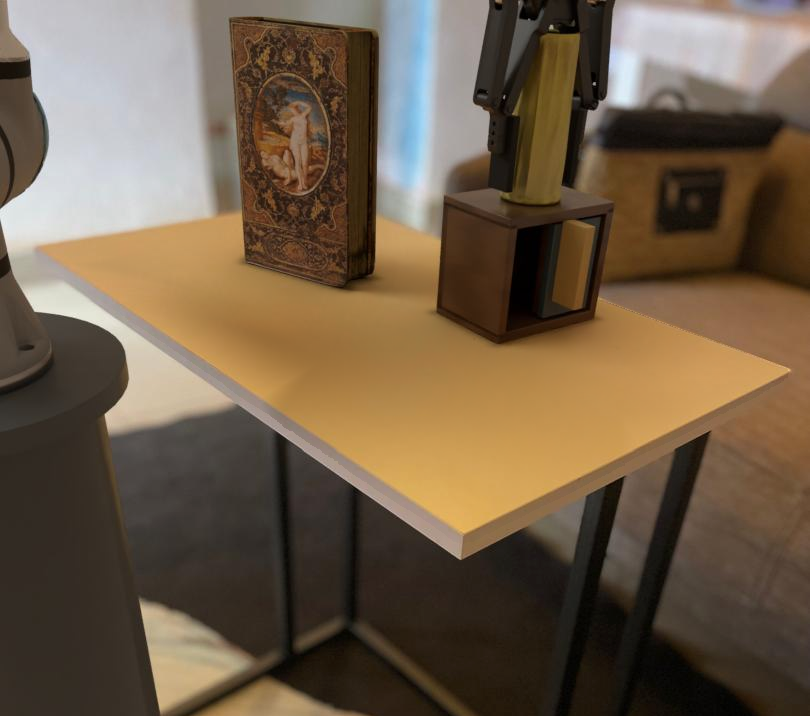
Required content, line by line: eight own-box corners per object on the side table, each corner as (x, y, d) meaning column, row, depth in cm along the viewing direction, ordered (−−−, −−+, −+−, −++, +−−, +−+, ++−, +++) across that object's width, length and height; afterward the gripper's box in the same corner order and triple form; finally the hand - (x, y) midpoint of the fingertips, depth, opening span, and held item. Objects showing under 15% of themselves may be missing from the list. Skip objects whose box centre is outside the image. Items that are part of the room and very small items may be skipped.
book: (237, 260, 101) (220, 17, 87) (268, 250, 105) (256, 15, 90) (346, 290, 94) (347, 31, 80) (374, 278, 98) (380, 29, 83)
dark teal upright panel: (536, 316, 87) (550, 219, 81) (580, 305, 90) (596, 211, 84) (563, 328, 84) (579, 229, 78) (607, 317, 87) (625, 221, 82)
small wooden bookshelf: (435, 312, 90) (443, 194, 83) (531, 290, 97) (545, 180, 90) (497, 343, 83) (511, 219, 76) (594, 318, 90) (615, 202, 83)
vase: (497, 203, 81) (514, 31, 73) (502, 188, 86) (519, 26, 78) (560, 208, 80) (585, 36, 72) (562, 193, 85) (585, 30, 77)
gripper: (504, -118, 62) (476, 205, 75) (683, -100, 72) (630, 182, 85) (442, -117, 66) (426, 187, 80) (617, -100, 77) (577, 167, 90)
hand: (531, 184), depth 82 cm, fingers open, 8 cm apart
